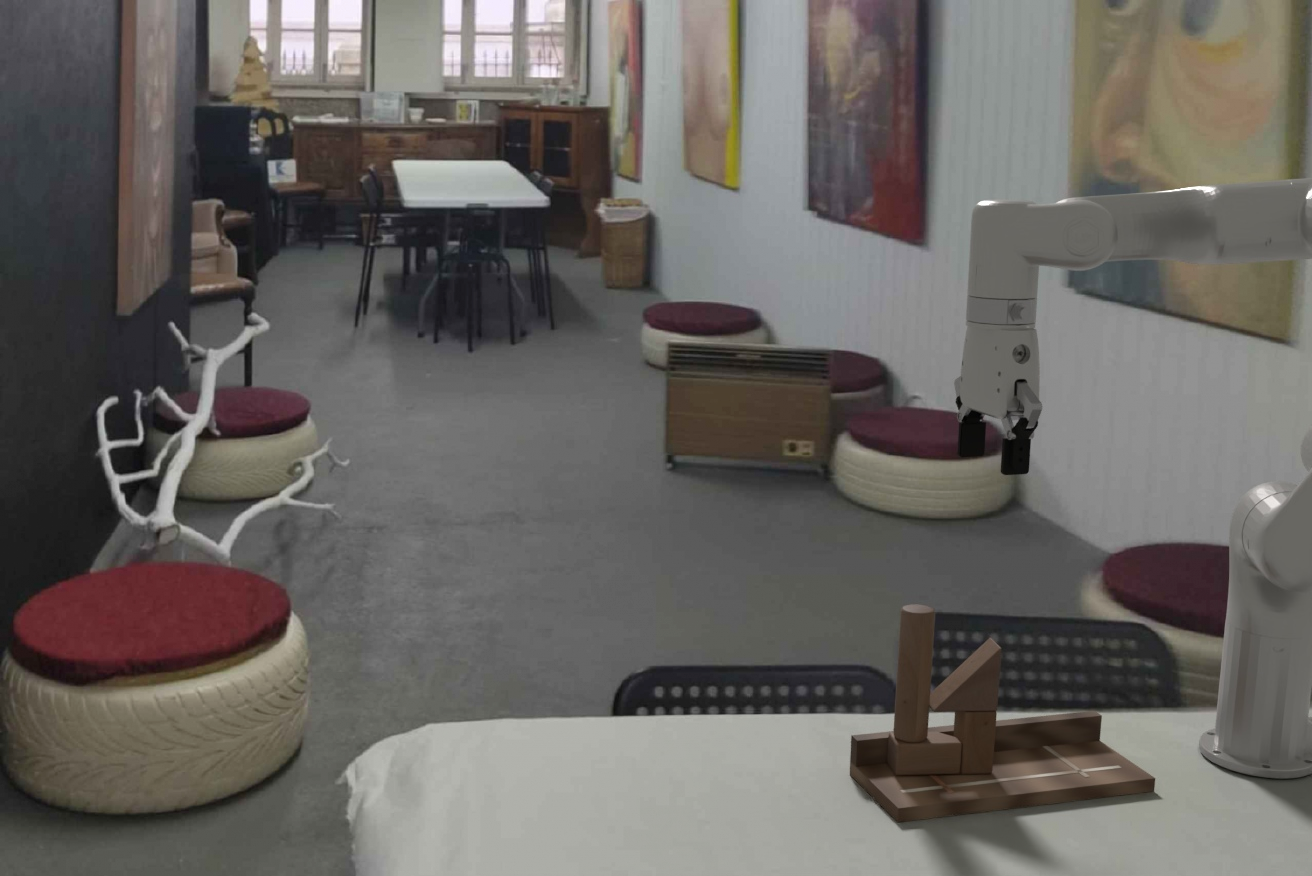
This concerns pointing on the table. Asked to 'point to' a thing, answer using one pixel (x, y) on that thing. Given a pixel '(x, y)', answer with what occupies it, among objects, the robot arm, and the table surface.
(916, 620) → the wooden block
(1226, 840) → the table surface
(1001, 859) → the table surface
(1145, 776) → the marking board
